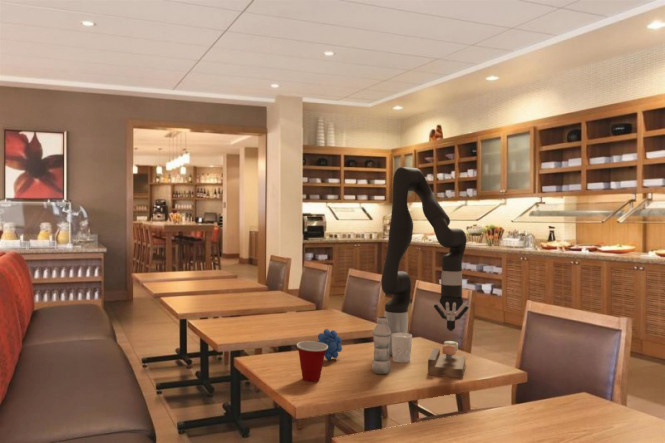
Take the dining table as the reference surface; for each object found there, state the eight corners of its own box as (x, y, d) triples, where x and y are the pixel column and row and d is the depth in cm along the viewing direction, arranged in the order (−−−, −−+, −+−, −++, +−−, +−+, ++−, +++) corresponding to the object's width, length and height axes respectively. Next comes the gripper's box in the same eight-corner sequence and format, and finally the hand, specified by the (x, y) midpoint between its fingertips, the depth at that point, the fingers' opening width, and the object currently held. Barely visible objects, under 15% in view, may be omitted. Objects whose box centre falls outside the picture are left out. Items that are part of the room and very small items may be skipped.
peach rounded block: (441, 359, 204) (442, 347, 204) (442, 356, 209) (443, 344, 208) (455, 360, 203) (455, 348, 203) (455, 357, 207) (456, 345, 207)
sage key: (443, 355, 210) (443, 343, 210) (444, 352, 214) (444, 340, 214) (456, 356, 209) (456, 344, 209) (457, 353, 213) (457, 341, 213)
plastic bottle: (392, 371, 208) (393, 316, 207) (387, 376, 201) (388, 319, 201) (374, 369, 210) (375, 315, 209) (369, 374, 203) (370, 318, 203)
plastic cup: (316, 386, 189) (316, 349, 189) (289, 380, 195) (290, 345, 195) (333, 378, 198) (334, 343, 198) (307, 373, 204) (308, 339, 204)
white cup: (410, 363, 219) (411, 337, 219) (390, 362, 220) (390, 336, 220) (412, 358, 227) (412, 333, 226) (392, 357, 228) (392, 332, 228)
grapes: (322, 364, 216) (322, 332, 216) (312, 360, 222) (313, 329, 221) (347, 360, 222) (348, 329, 222) (338, 356, 228) (338, 326, 228)
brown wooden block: (427, 374, 205) (428, 359, 205) (433, 361, 222) (433, 347, 222) (462, 377, 202) (462, 362, 201) (465, 364, 219) (465, 350, 219)
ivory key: (444, 355, 216) (444, 343, 216) (445, 352, 220) (445, 341, 220) (457, 356, 214) (457, 344, 214) (458, 353, 219) (458, 342, 219)
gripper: (470, 282, 213) (469, 329, 213) (434, 281, 216) (433, 327, 217) (469, 285, 206) (468, 333, 206) (432, 283, 209) (431, 331, 209)
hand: (450, 330), depth 211 cm, fingers closed
